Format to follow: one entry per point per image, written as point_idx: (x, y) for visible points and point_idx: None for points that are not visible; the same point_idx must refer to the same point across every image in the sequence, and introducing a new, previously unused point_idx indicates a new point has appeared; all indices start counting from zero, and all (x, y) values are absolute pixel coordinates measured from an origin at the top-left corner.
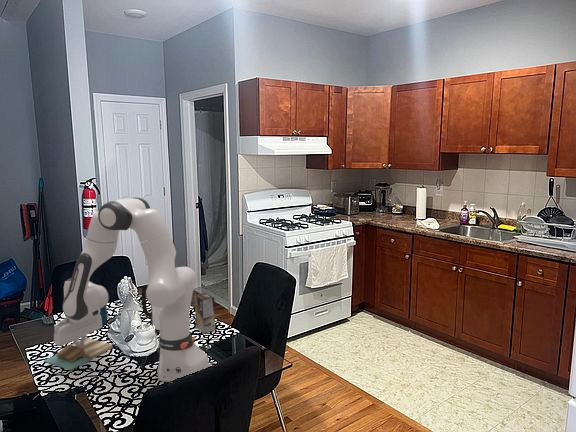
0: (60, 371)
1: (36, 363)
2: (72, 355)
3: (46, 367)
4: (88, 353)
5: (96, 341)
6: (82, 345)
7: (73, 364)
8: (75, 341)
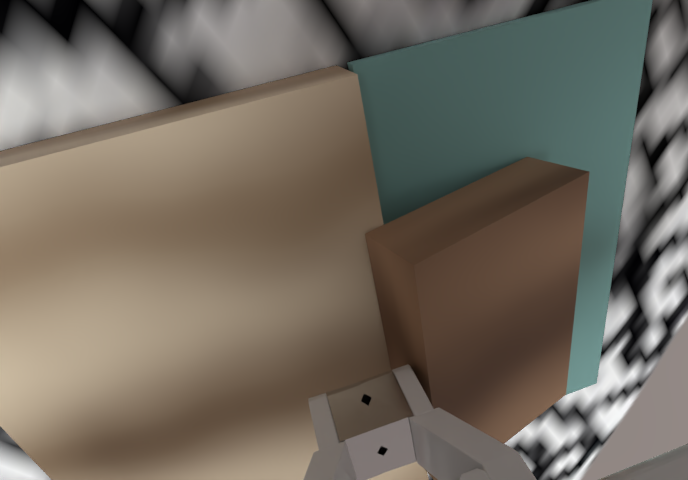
0: (681, 80)
1: (623, 379)
2: (548, 231)
3: (651, 269)
4: (336, 181)
5: (79, 467)
6: (345, 394)
7: (551, 103)
8: (519, 459)
